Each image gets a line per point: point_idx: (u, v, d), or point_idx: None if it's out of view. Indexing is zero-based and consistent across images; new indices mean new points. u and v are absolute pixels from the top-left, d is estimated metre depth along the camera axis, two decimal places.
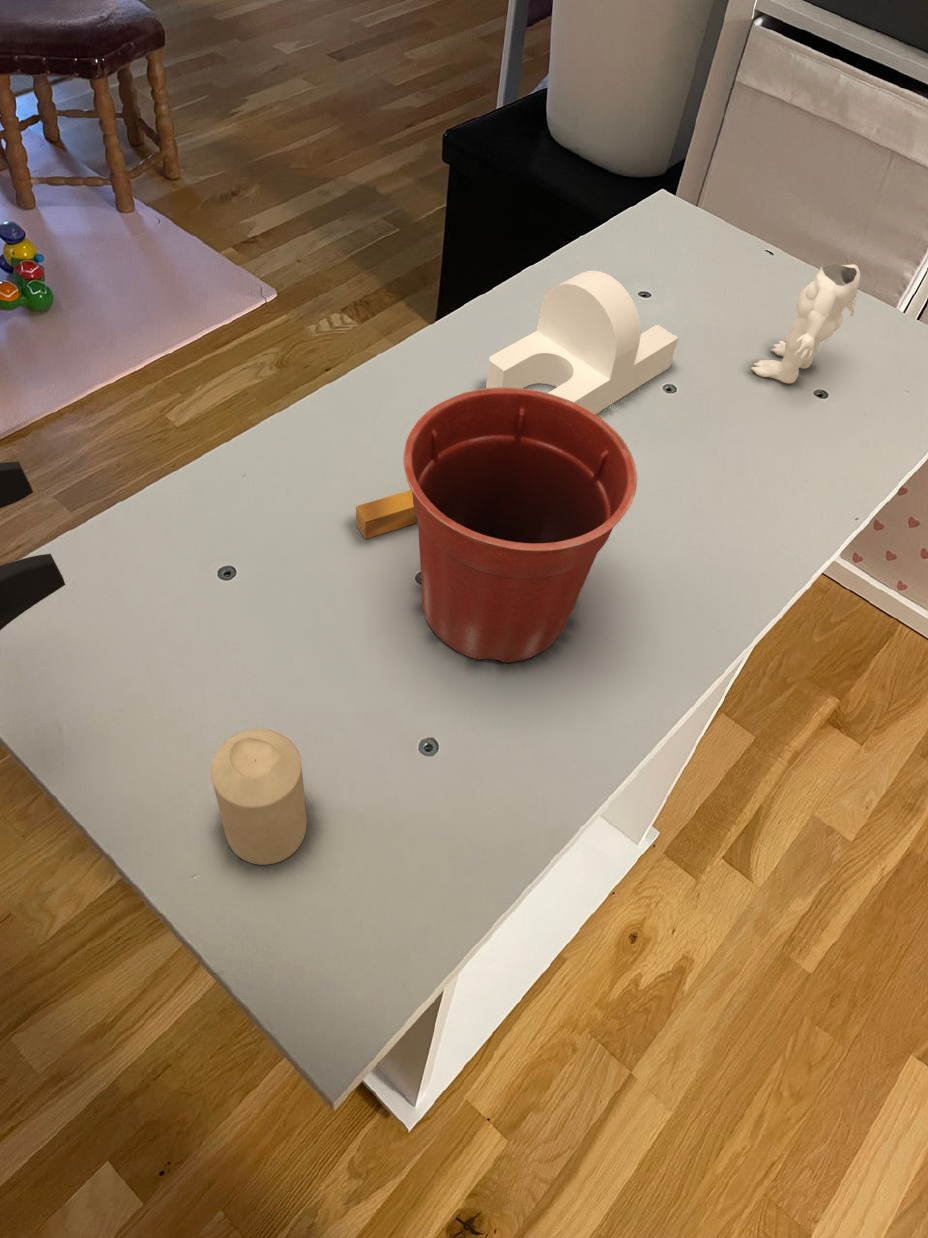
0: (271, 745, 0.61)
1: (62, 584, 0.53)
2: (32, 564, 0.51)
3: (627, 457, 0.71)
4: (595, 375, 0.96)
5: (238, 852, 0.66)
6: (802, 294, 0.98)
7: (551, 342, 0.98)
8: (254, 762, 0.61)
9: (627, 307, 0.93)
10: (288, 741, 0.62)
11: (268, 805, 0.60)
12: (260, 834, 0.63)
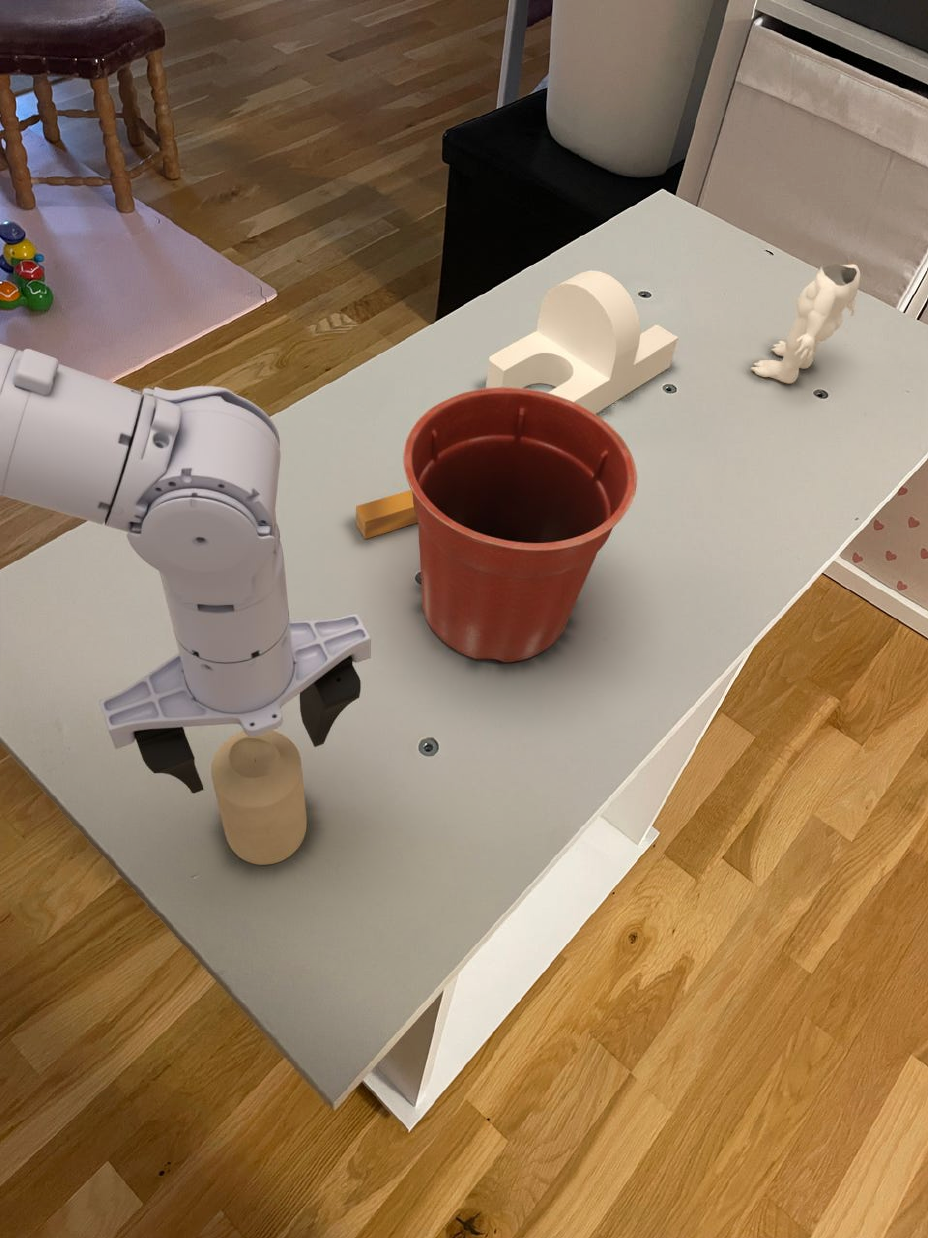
0: (271, 745, 0.61)
1: None
2: (193, 789, 0.57)
3: (627, 457, 0.71)
4: (595, 375, 0.96)
5: (238, 852, 0.66)
6: (802, 294, 0.98)
7: (551, 342, 0.98)
8: (254, 762, 0.61)
9: (627, 307, 0.93)
10: (288, 741, 0.62)
11: (268, 805, 0.60)
12: (260, 834, 0.63)
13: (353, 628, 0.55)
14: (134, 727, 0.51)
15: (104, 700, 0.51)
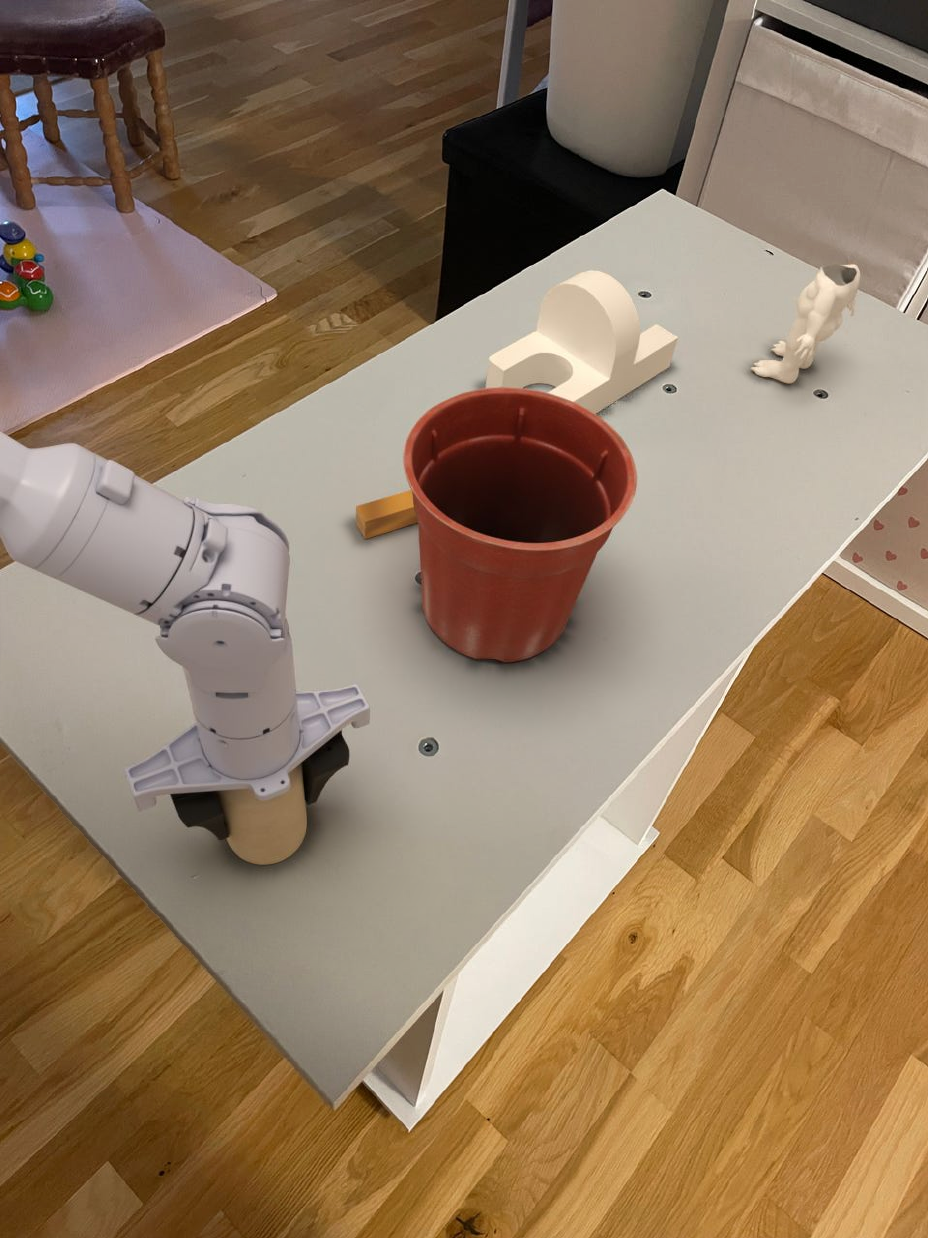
0: None
1: None
2: (220, 837, 0.63)
3: (627, 457, 0.71)
4: (595, 375, 0.96)
5: (238, 852, 0.66)
6: (802, 294, 0.98)
7: (551, 342, 0.98)
8: None
9: (626, 307, 0.93)
10: None
11: (268, 805, 0.60)
12: (260, 834, 0.63)
13: (354, 698, 0.61)
14: (156, 793, 0.56)
15: (129, 768, 0.57)
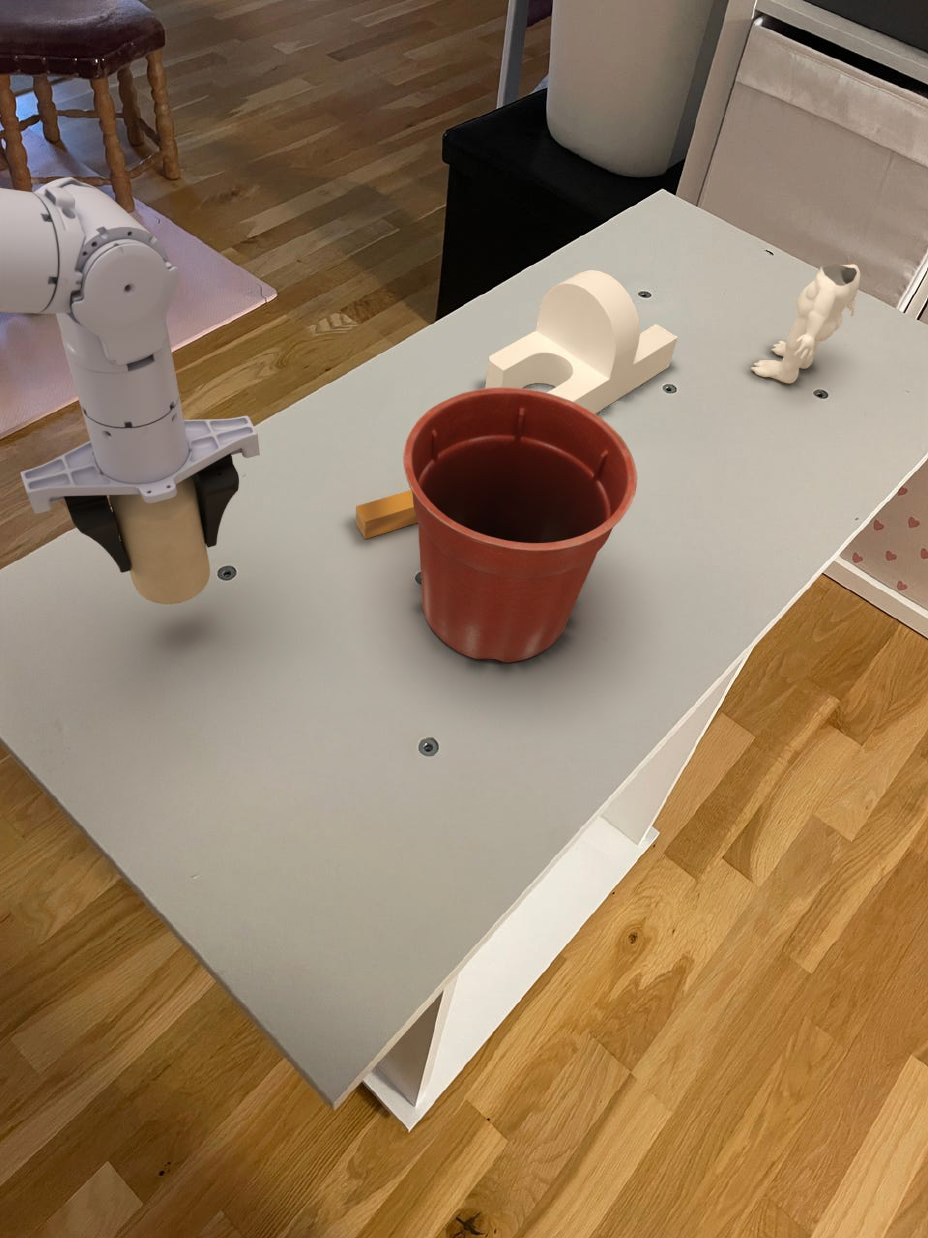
0: None
1: None
2: (121, 566, 0.67)
3: (627, 457, 0.71)
4: (594, 374, 0.96)
5: (142, 590, 0.70)
6: (802, 294, 0.98)
7: (550, 342, 0.98)
8: None
9: (626, 307, 0.93)
10: None
11: (160, 523, 0.64)
12: (158, 561, 0.67)
13: (243, 426, 0.65)
14: (49, 492, 0.60)
15: (25, 471, 0.61)
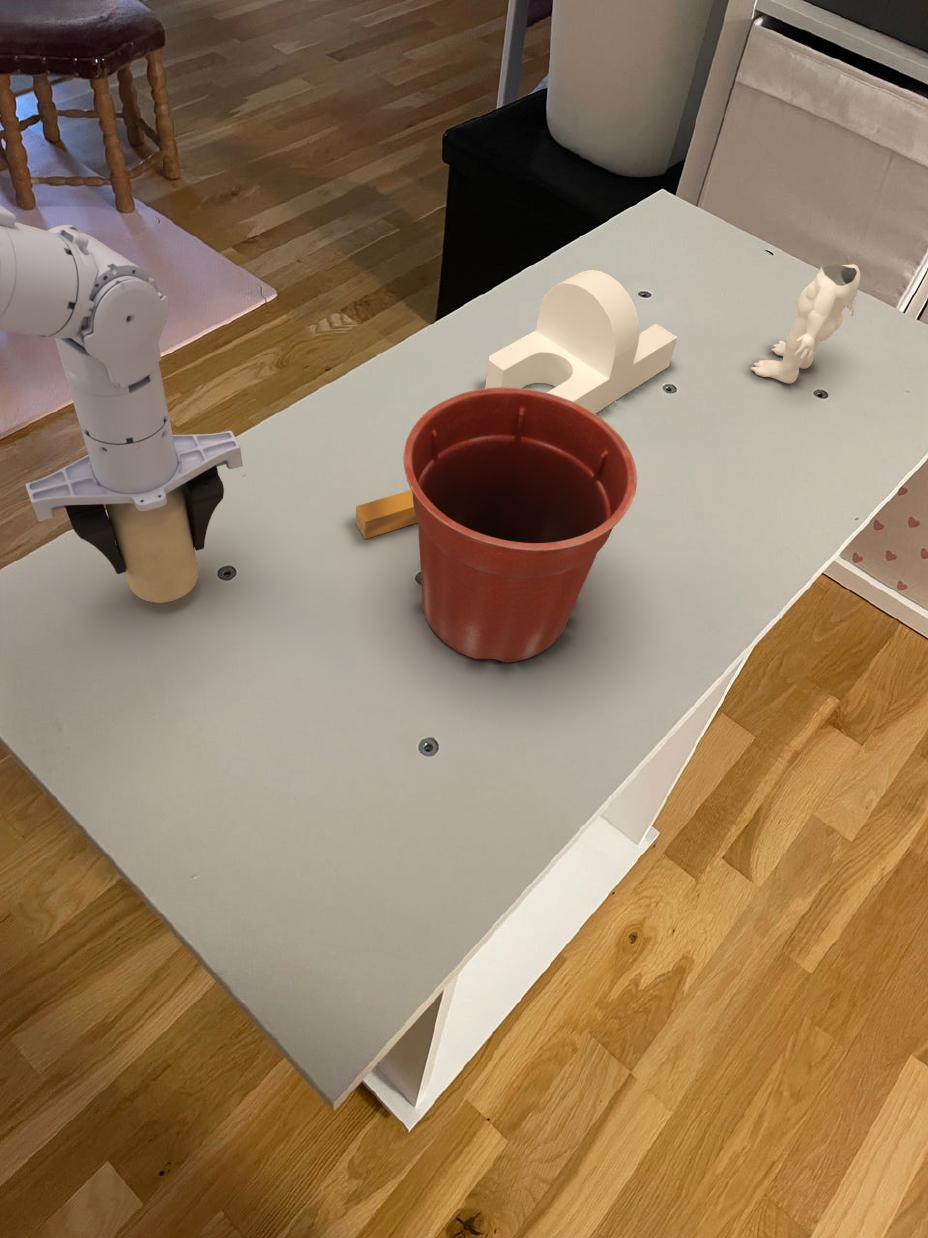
0: None
1: None
2: (116, 568, 0.74)
3: (627, 457, 0.71)
4: (594, 374, 0.96)
5: (136, 589, 0.76)
6: (802, 294, 0.98)
7: (550, 341, 0.98)
8: None
9: (626, 306, 0.93)
10: None
11: (152, 528, 0.70)
12: (150, 563, 0.73)
13: (227, 440, 0.71)
14: (52, 502, 0.67)
15: (29, 483, 0.67)
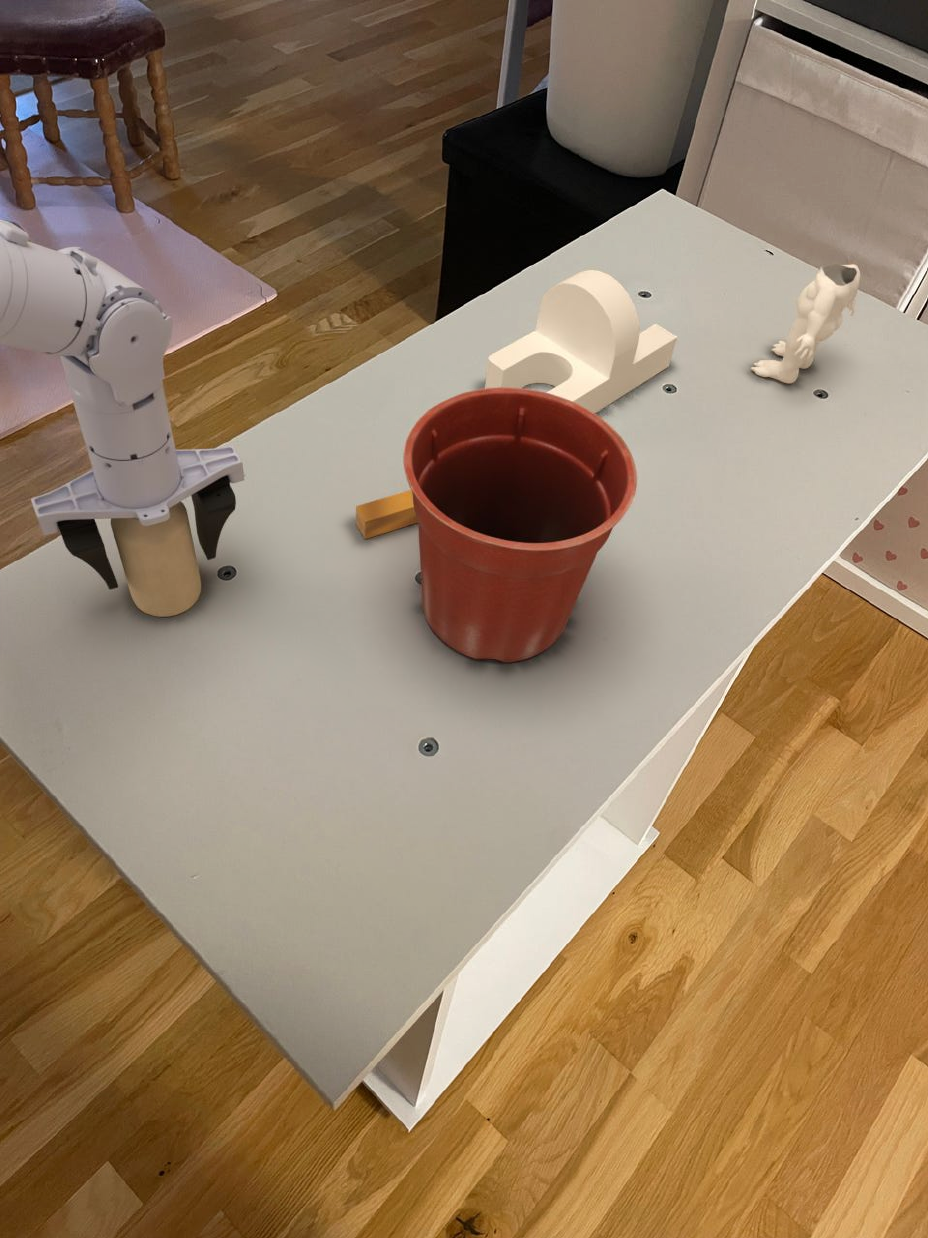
0: None
1: None
2: (109, 583, 0.75)
3: (627, 457, 0.71)
4: (594, 374, 0.96)
5: (140, 604, 0.78)
6: (802, 294, 0.98)
7: (550, 341, 0.98)
8: None
9: (626, 306, 0.93)
10: None
11: (156, 545, 0.72)
12: (154, 579, 0.75)
13: (229, 455, 0.72)
14: (57, 517, 0.68)
15: (35, 498, 0.68)
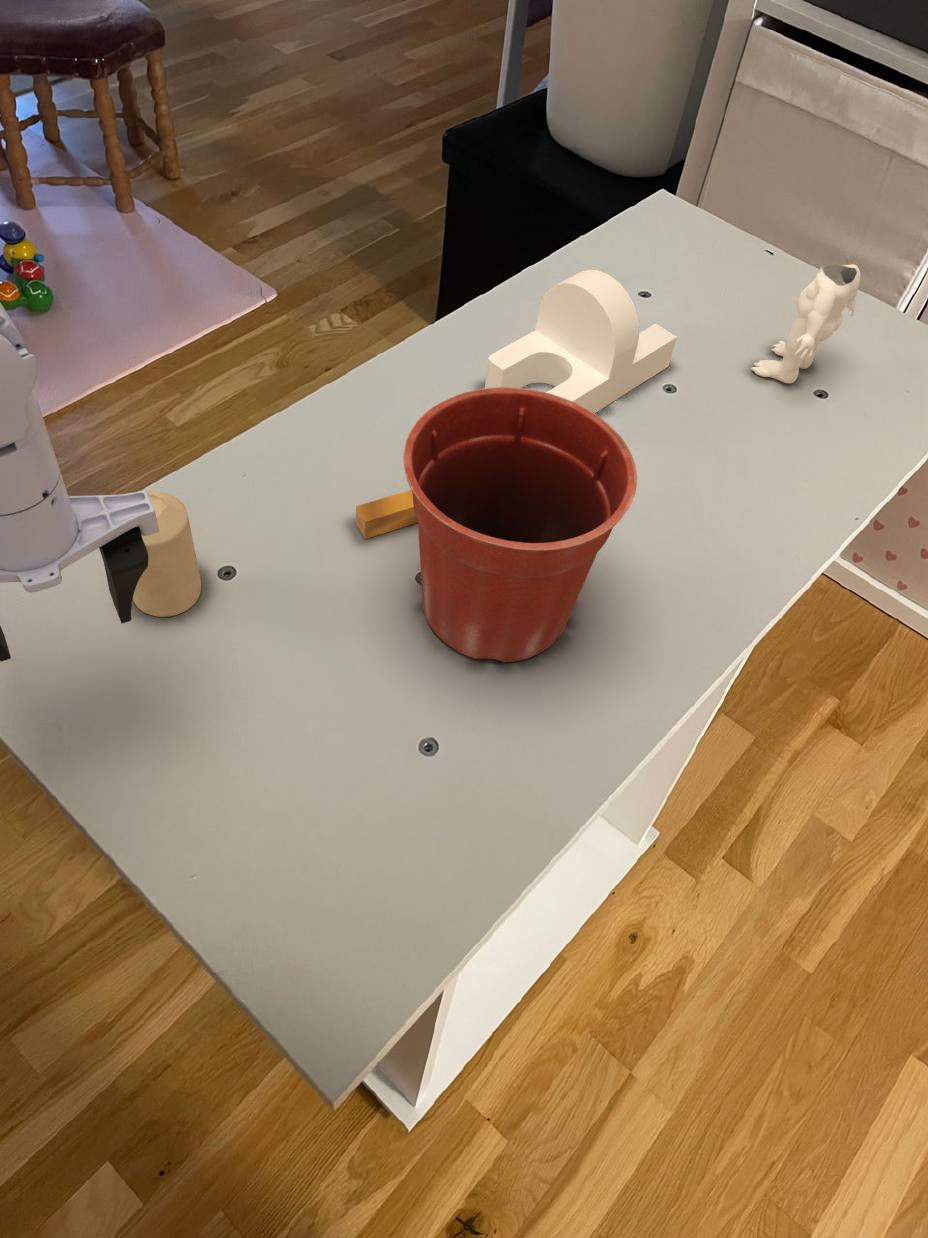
0: (161, 499, 0.73)
1: None
2: None
3: (627, 457, 0.71)
4: (594, 374, 0.96)
5: (140, 604, 0.78)
6: (802, 294, 0.98)
7: (550, 341, 0.98)
8: None
9: (626, 306, 0.93)
10: (177, 500, 0.74)
11: (157, 545, 0.72)
12: (155, 579, 0.75)
13: (139, 502, 0.60)
14: None
15: None
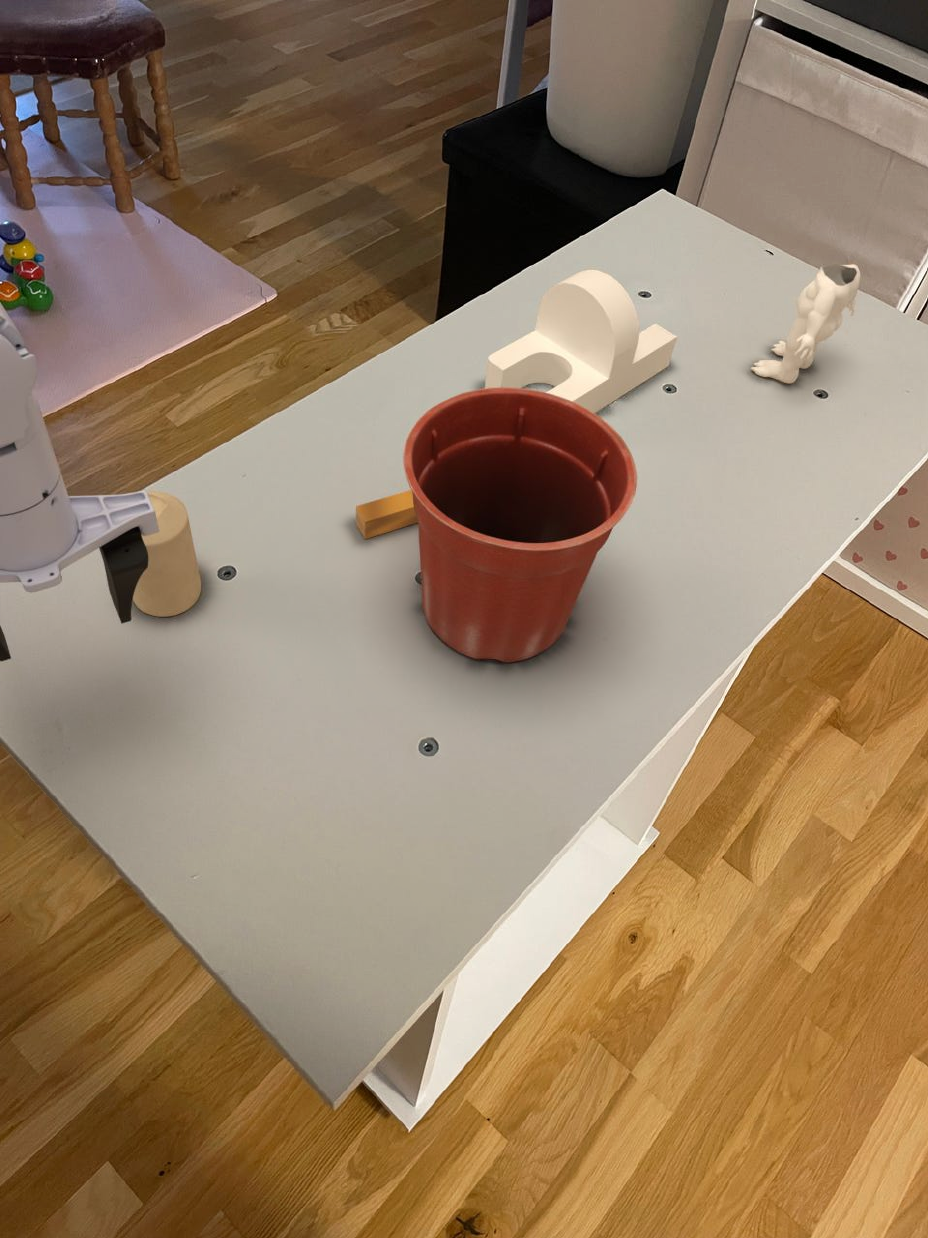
0: (161, 499, 0.73)
1: None
2: None
3: (627, 457, 0.71)
4: (594, 374, 0.96)
5: (140, 604, 0.78)
6: (802, 294, 0.98)
7: (550, 341, 0.98)
8: None
9: (625, 306, 0.93)
10: (177, 500, 0.74)
11: (156, 545, 0.72)
12: (154, 579, 0.75)
13: (139, 502, 0.60)
14: None
15: None
